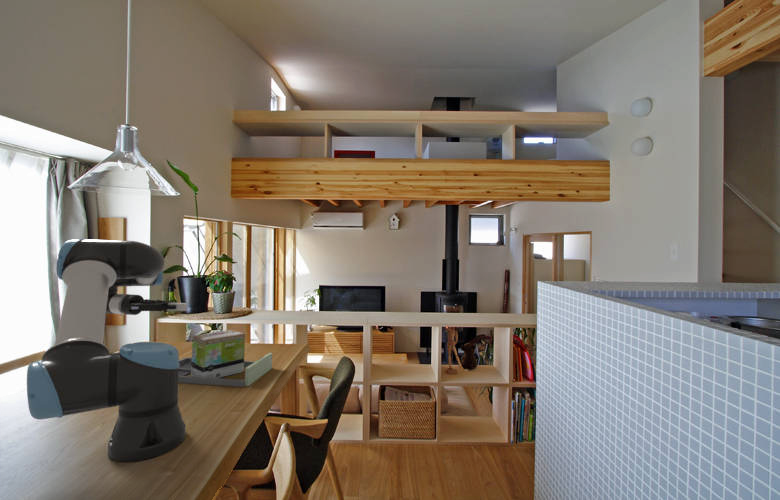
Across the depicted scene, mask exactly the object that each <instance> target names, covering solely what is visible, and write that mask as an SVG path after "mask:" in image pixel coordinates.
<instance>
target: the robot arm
mask: <svg viewBox="0 0 780 500" xmlns="http://www.w3.org/2000/svg"><path fill="white" fill-rule="evenodd" d="M57 256H58V257H57V260H56V265H55V266H56V268H55V269H56V274H57V277H58V279H59V280H61V281H63V283H64V284H65V285H66V286H67V287H66V291H65V296H64V301H63V306H62V310H61V315H60V320H59V324H58V328H57V333H56V337H55V341H54V345H53V346H50V347H49V348H48V349H47V350H46V351H45V352H44V353H43V355H42V357H41V360H36V361H33V362H30V363H29V364H28V366H27V370H26V395H27V396H26V397H27V405H28V411H29V414H30V416H31V417H32V418H33V419H35V420H45V419H46V420H47V419H54V418H59V419H60V418H63V417H64V416H65V417H66V416H69V415H75V414H76V415H77V414H82V413H86V412H92V411H98V410H102V409H108V408H114V407H118V416H117V420H116V422H115V425H114V427H113V430H112V432H111V436H110V438H109V440H108V442H107V455H108V458H109V459H111V460H113V461H116V462H124V463H125V462H126V463H127V462H138V461H139V462H140V461H143V460H147V459H152V458H155V457H158V456H161V455H163V454H166V453H168V452H170V451H172V450H174V449H175V448H177V447H178V446H179V445H180V444H181V443H182V442H184V440H185V438H186V424H185V422H184V420H183V419H184V418H183V417H182V416H183V415H182V413H181V410H180V408H179V382H178V368H179V367H180V364H179V360H180V359H179V357H180V356H179V355H180V354H179V350H178V349H177V347H176V346H175V345H172V344H170V343H165V342H157V341H156V342H155V341H140V342H139V341H138V342H133V343H127V344H124V345H122V346H121V347H120V348H119V350H118V351H119V352H113V353H110V350H109V348H108V346H107V345H106V344H104V335H105V325H106V316H107V314H111V315H112V314H113V315H119V316H122V315H130V316H136V315H139V314H141V313H142V312H162V311H163V312H164V313H168V311H169V312H170V311H173V312H174V311H175V312H187V311H188V303H187V302H175V301H173V300H162V299H153V300H152V299H146V298H145V299H144V297H143V296H142V295H141V294H140V295H139V294H129V293H128V294H127V293H126V294H125V293H118V290H119V289H118V288H120V287H123V288H124V287H154V286H161V285H162V284H163V279H164V278H163V274H164V273H163V272H164V271H163V270H164V267H165V261H166V260H165V258H164V255H163V254H162V253H161V252H160V251H159V250H158V249H156V248H155V247H153V246H151V245H149V244H146V243H144V242H140V241H135V240H113V239H112V240H111V239H110V240H108V239H87V238H81V239H80V238H79V239H68V240H67V241H65V242H64V243H63V244H61V246H60V250H59V252H58V255H57Z"/></svg>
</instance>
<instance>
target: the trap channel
mask: <svg viewBox="0 0 780 500" xmlns="http://www.w3.org/2000/svg"><path fill="white" fill-rule="evenodd" d="M256 361H257V360H256ZM256 361H254V360H253V361H251V360H244V368H246V367H248V366H250V365H251V364H253V363H254V362H256ZM179 364H180V367H179V368H178V384H179V383H180V384H181V383H183V384H193V385H195V384H196V385H206V386H207V385H209V386H220V387H221V386H223V387H225V386H226V387H237V388H244V387H246V386H245V379H238V378H237V379H234V378H223V377H220V378H208V377H194V376H191V364H192V356H191V357H190V356H189V357H184V358H181V359H179Z"/></svg>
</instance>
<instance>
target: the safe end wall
mask: <svg viewBox="0 0 780 500" xmlns="http://www.w3.org/2000/svg"><path fill="white" fill-rule="evenodd" d="M272 365H273V353H272V352H269V353H266V354H265V355H264V356H262V357H261V358H259V359H258V360H256V362H254V363H253V364H251V365H250V366H248V367H244V371H245V372H244V380H245V386H244V387H250V385H252V384H254V382H256V381H257V380H259V379H260V378H261V377H262V376H264V375H265V374H266V373H268V372H269V371H270V370H272V369H273V366H272Z"/></svg>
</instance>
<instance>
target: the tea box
mask: <svg viewBox="0 0 780 500" xmlns="http://www.w3.org/2000/svg"><path fill="white" fill-rule="evenodd" d="M191 345H192V347H191V357H192V364H191V373H190V376H194V377H208V378H223V377H227V376H230V375H235V374H240V373H243V372H244V371H245V367H244V361H245V350H246V349H245V348H246V347H245V345H246V334H245V333H243V332H240V331H238V330H234V329H229V330H228V329H227V330H223V331H222V330H220V331H216V332H209V333H203V334H202V333H201V334H195V335H193V336H192V344H191Z"/></svg>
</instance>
